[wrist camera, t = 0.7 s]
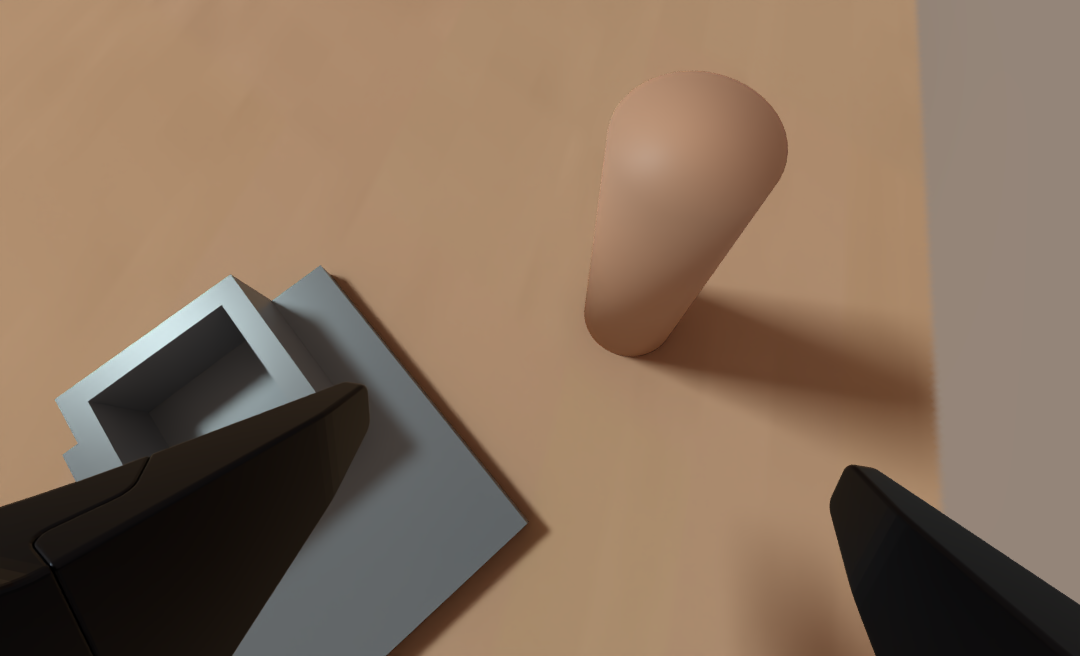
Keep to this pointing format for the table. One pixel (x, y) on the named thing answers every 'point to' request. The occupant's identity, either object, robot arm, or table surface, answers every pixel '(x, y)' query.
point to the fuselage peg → (675, 200)
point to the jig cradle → (368, 487)
